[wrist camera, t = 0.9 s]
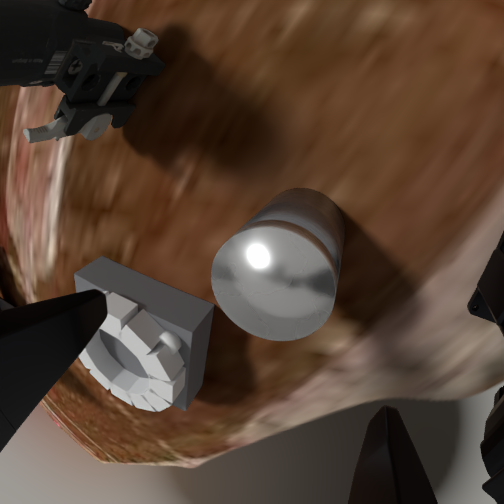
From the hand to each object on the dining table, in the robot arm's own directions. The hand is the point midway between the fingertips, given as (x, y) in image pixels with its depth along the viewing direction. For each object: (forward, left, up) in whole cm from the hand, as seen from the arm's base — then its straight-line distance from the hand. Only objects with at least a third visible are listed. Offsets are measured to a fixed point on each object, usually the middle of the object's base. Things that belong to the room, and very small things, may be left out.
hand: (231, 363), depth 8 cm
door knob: (0, 0, -11) cm, 11 cm away
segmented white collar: (+10, +13, -11) cm, 20 cm away
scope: (+16, -9, -11) cm, 22 cm away
